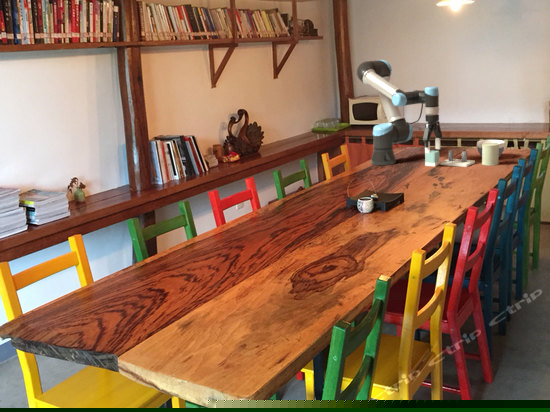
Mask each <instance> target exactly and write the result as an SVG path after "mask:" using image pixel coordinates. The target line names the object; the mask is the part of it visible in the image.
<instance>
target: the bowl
mask: <svg viewBox="0 0 550 412" xmlns="http://www.w3.org/2000/svg"><path fill="white" fill-rule="evenodd" d="M484 143H498V144H499V157H500V156H501V155H502V154H503V152H504V150H505V145H506V141H505V140H501V139H482V140H477V142H476V148H477V149H476V150H477V152H478V154H479V155H480V156H481V157H482V144H484Z"/></svg>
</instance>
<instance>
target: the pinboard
mask: <svg viewBox="0 0 550 412" xmlns="http://www.w3.org/2000/svg"><path fill="white" fill-rule="evenodd" d="M467 157H468V151H466V150H463V151H461V159H460V158H459V159H458V158H456V159H455V158H454V150H451V149H450V150H448V158H447V159H444V160H442V161H441V162H440V161H439V166H450V167H463V168H468V167H470V166H472V165H474V164H476V160H473V159H467Z"/></svg>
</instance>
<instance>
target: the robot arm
mask: <svg viewBox="0 0 550 412" xmlns="http://www.w3.org/2000/svg"><path fill="white" fill-rule="evenodd" d="M391 75H392V66H391V64H390V62H388V61H387V60H386V59H385V60H384V59H377V60H366V61H363V62H361V63H360V64H359V65H358V67H357V68H356V76H357V78H358V80H359V81H360V82H362V83H363V84H365V85H369V86H371V87H372V88H373V89H375V90H376V91H377V92H378V93H377V94H378V96H379V99H380V102H381V104H382V105H381V106H382V108H383V111H384V113H385V117H386V118H387V122H385V123H379V124H376V125H374V126H373V129H372V138H373V140H372V141H373V146H372V147H373V148H372V149H373V151H372V155H371V158H370V164H371V165H375V166H388V165H394V164H396V163H397V158H396V155H395V152H394V145H395V144H401V143H402V144H403V143H406V142H408V141H410V140H411V139H412V137H413V133H414V128H413V126H412V123H410V122H408V121H407V120H406V118H405V117H404V116H402V114H401V111H400V109H399V107H404V106H411V105H418V104H419V105H420V104H422V105H423V104H424V108H425V109H424V111H425V114H424V115H425V117H424V118H425V122H427V123H425V124H424V132H423V137H422V142H423V143H424V154H425V153H430V150H431V145H430V144H431V142H430V139H431V137H432V133H433V134H434V136H435V141H434V142H435V143H434V144H435V150H441V139H442V138H443V134H442V130H441V126H440V114H439V113H440V108H439V107H440V106H439V105H440V104H439V102H440V101H439V100H440V99H439V97H440V93H439V92H440V91H439V87H438V86H427V87H425V88H424V90H419V89H417V90H416V89H413V90H411V91H403V90H402V89H400V88H398V87H397V86H396V85H394V83H391V82H390V80H391Z"/></svg>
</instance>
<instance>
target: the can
mask: <svg viewBox="0 0 550 412" xmlns="http://www.w3.org/2000/svg"><path fill="white" fill-rule="evenodd" d="M499 157H500V156H499V144H498V143H484V144H482V156H481V165H482V166H489V167H490V166H498V165H499V162H500V161H499Z"/></svg>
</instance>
